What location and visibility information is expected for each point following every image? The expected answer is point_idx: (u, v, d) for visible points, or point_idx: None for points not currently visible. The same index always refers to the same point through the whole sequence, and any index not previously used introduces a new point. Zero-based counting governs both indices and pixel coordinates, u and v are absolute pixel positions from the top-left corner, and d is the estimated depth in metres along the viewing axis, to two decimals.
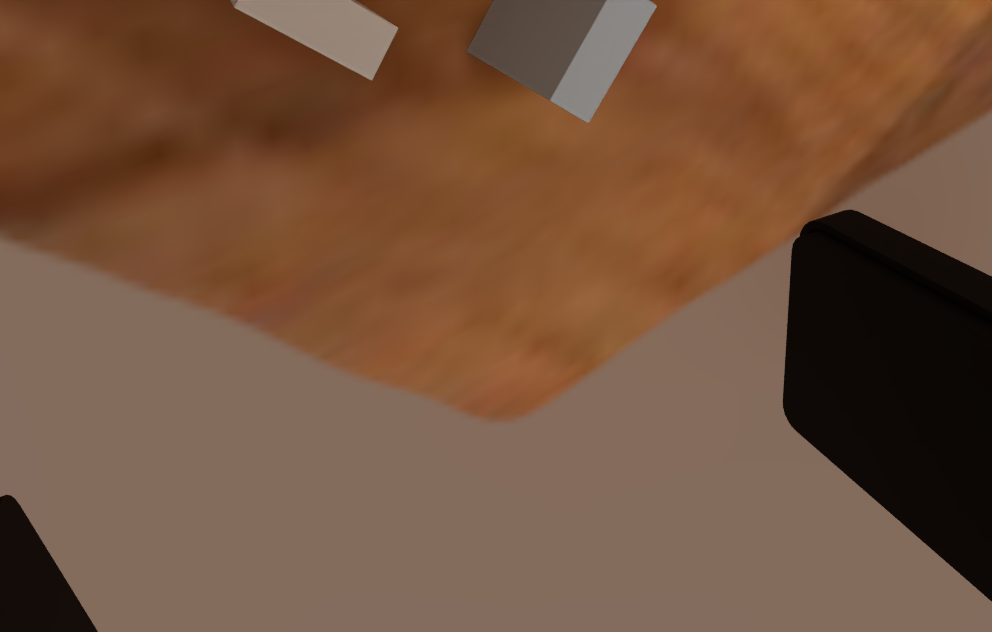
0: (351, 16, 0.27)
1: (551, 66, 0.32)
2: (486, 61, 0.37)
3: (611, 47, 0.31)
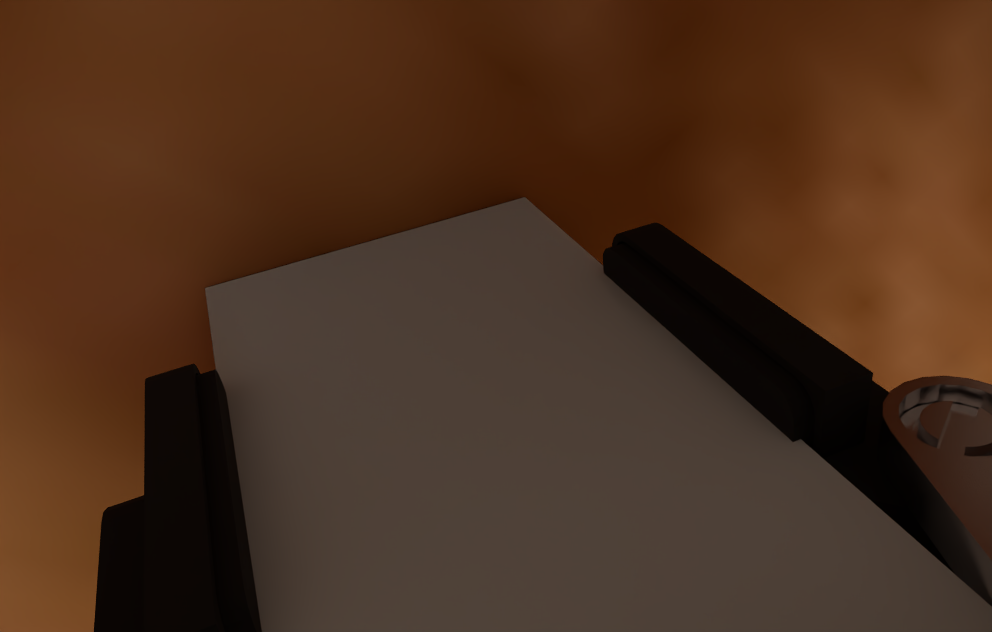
0: None
1: None
2: (224, 387, 0.09)
3: None
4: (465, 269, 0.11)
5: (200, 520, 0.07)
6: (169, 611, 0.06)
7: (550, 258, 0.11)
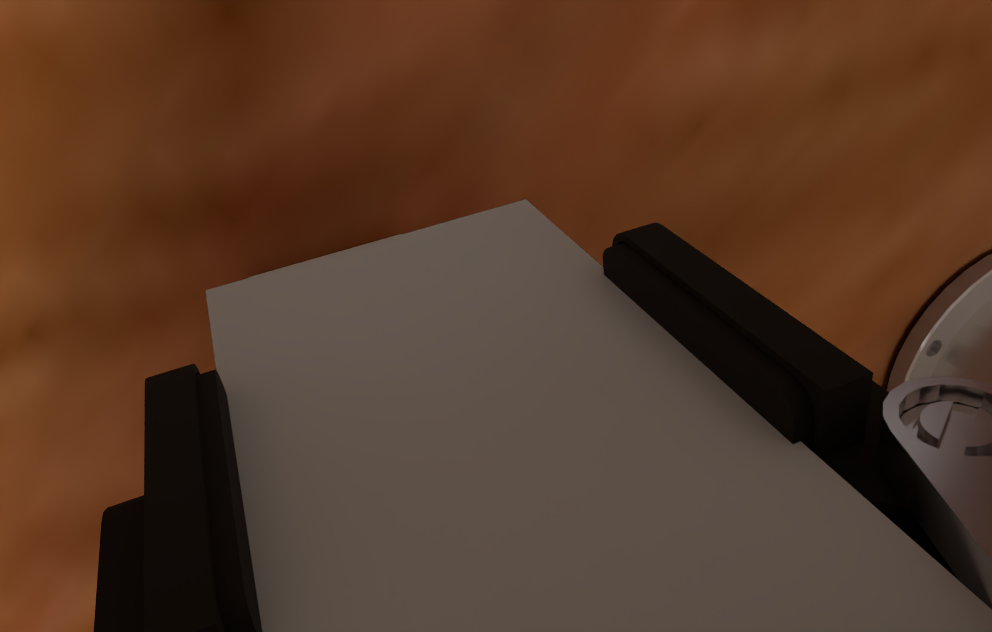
0: None
1: None
2: (225, 390, 0.09)
3: None
4: (467, 272, 0.11)
5: (200, 520, 0.07)
6: (169, 611, 0.06)
7: (551, 261, 0.11)
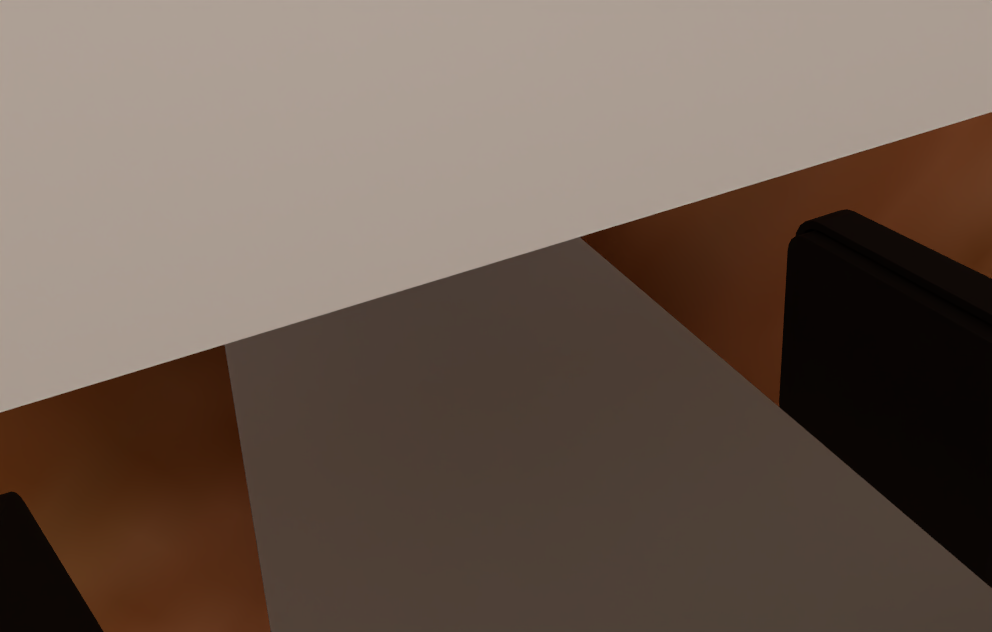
0: None
1: None
2: (230, 346, 0.10)
3: None
4: None
5: None
6: None
7: None
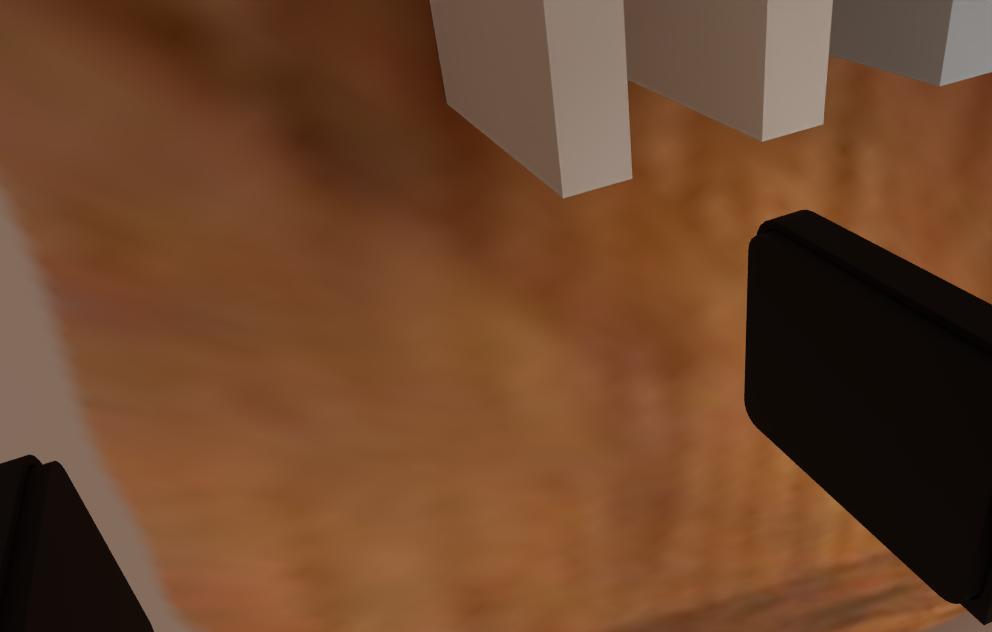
0: (613, 124, 0.20)
1: (911, 38, 0.24)
2: None
3: None
4: None
5: None
6: None
7: None
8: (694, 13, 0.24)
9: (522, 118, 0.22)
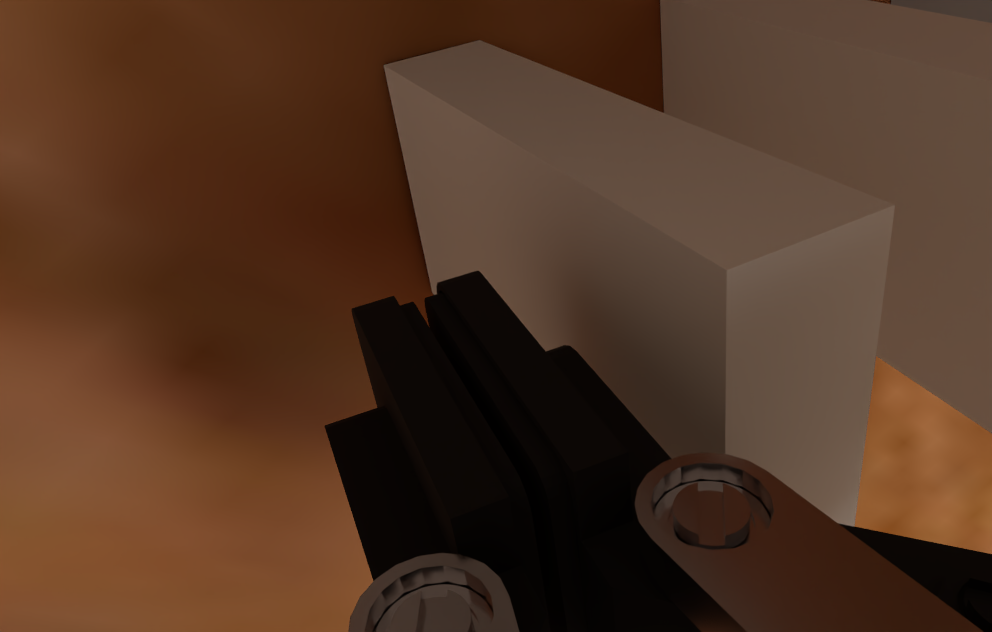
0: (832, 480, 0.10)
1: None
2: None
3: None
4: None
5: (457, 419, 0.07)
6: (460, 489, 0.07)
7: None
8: (887, 197, 0.12)
9: None
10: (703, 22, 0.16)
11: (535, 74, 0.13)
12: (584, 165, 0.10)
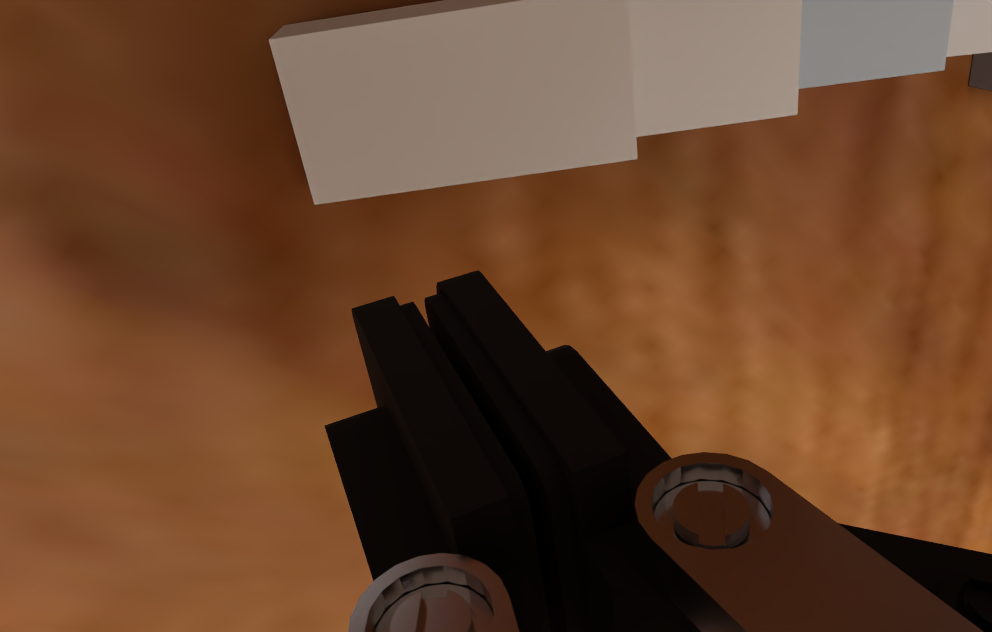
0: None
1: (908, 40, 0.27)
2: None
3: None
4: None
5: (457, 419, 0.07)
6: (460, 489, 0.07)
7: None
8: (688, 37, 0.25)
9: (555, 122, 0.24)
10: None
11: (381, 11, 0.24)
12: None
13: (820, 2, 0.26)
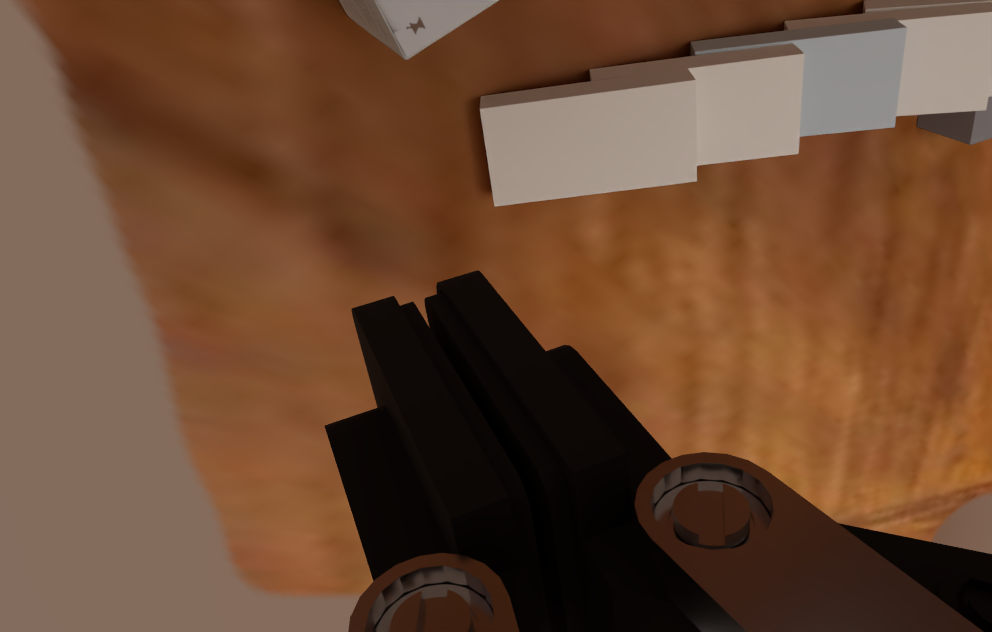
0: None
1: (870, 108, 0.41)
2: None
3: None
4: None
5: (458, 419, 0.07)
6: (461, 489, 0.07)
7: None
8: (731, 106, 0.40)
9: (647, 159, 0.39)
10: None
11: (542, 89, 0.39)
12: (628, 87, 0.38)
13: (814, 83, 0.41)
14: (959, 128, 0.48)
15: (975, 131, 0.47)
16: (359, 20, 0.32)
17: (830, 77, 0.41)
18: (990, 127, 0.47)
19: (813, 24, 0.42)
